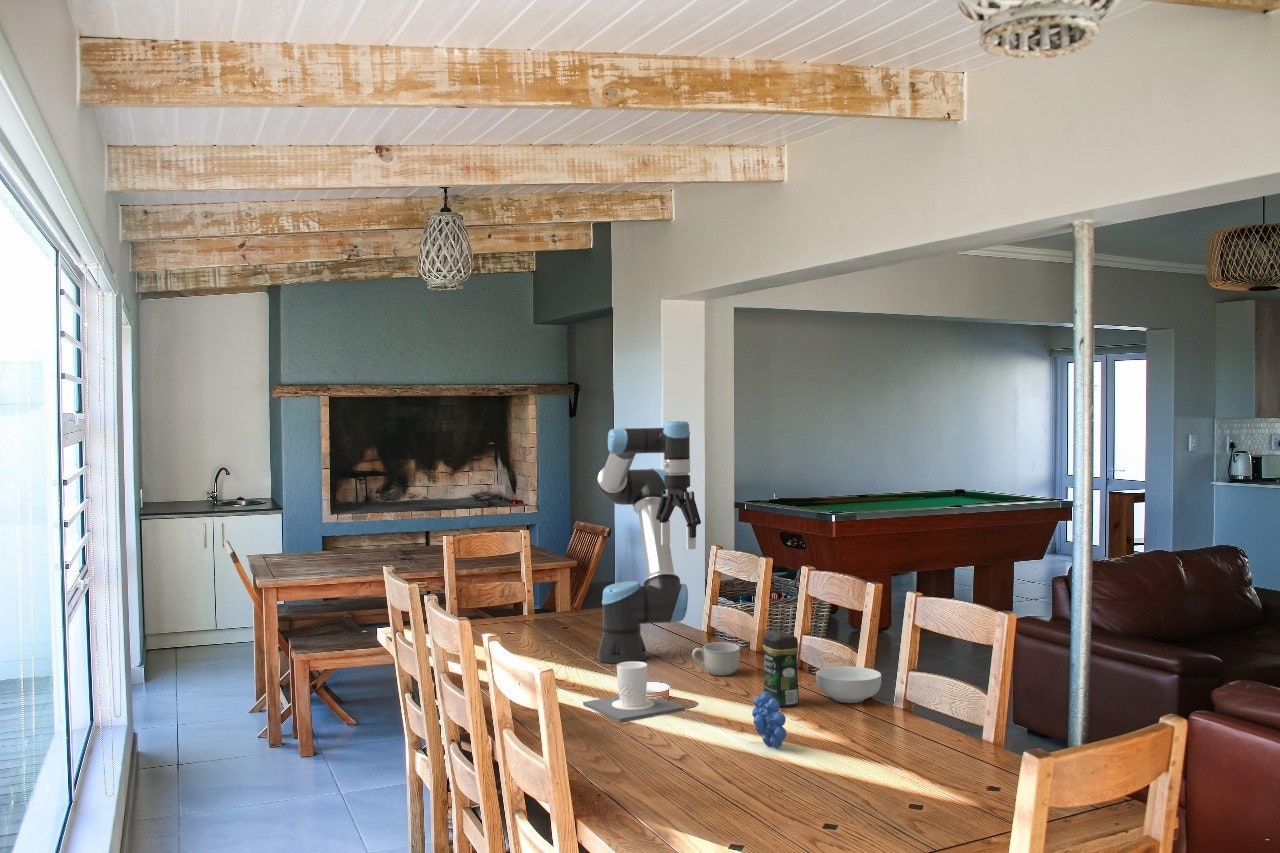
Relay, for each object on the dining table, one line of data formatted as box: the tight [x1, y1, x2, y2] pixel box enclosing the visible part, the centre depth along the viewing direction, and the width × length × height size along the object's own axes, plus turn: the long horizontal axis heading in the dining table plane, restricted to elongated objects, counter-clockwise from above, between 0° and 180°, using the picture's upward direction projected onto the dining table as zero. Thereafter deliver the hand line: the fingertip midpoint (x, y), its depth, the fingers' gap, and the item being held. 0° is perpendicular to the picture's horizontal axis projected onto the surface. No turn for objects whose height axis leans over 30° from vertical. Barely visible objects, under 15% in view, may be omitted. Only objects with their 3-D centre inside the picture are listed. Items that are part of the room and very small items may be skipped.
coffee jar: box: [762, 629, 800, 708], centre depth 280 cm, size 10×8×19 cm
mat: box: [582, 695, 685, 723], centre depth 278 cm, size 19×19×1 cm
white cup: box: [616, 661, 648, 707], centre depth 278 cm, size 8×8×10 cm
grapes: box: [751, 691, 787, 749], centre depth 244 cm, size 12×7×12 cm, turn 28°
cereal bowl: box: [815, 666, 882, 704], centre depth 283 cm, size 17×17×7 cm
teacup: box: [691, 641, 741, 677], centre depth 314 cm, size 14×11×8 cm
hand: (678, 546), depth 315 cm, fingers open, 13 cm apart
